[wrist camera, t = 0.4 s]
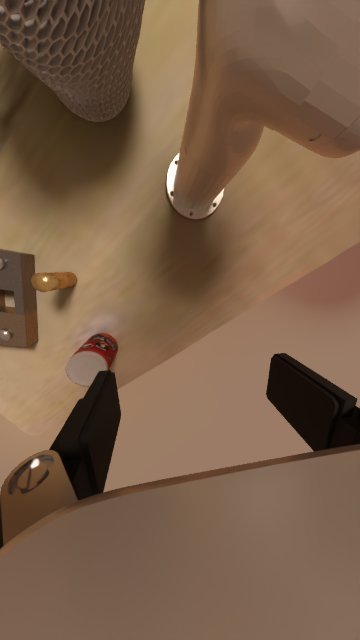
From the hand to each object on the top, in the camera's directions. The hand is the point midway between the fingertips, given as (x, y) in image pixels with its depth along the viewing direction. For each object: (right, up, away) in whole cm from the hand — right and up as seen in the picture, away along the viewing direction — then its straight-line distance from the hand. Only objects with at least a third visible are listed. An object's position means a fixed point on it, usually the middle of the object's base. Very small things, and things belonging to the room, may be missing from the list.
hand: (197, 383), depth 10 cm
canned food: (-21, -3, +35) cm, 41 cm away
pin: (-26, +13, +29) cm, 41 cm away
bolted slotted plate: (-38, +9, +28) cm, 48 cm away
